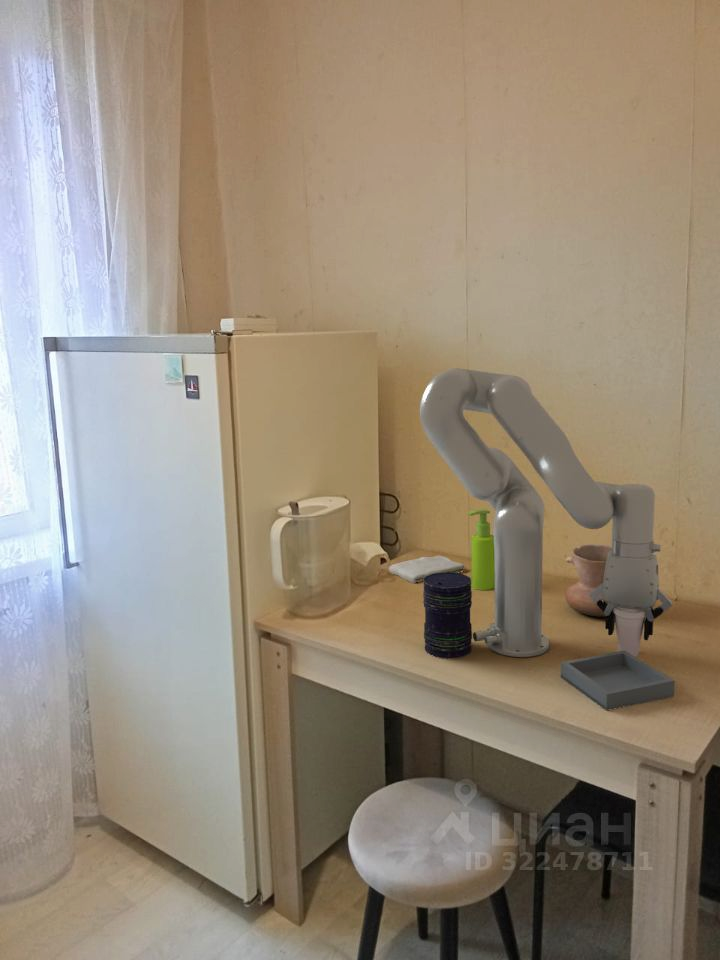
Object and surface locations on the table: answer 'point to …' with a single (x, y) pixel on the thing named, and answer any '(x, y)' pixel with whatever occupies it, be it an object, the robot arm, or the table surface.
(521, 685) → the table surface
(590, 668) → the tray
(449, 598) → the storage jar
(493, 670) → the table surface
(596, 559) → the ceramic jug
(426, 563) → the washcloth
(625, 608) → the smoothie
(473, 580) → the soap dispenser
